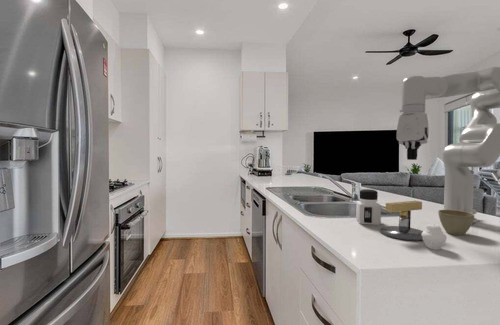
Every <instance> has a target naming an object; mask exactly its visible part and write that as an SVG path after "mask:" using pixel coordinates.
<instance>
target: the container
mask: <svg viewBox="0 0 500 325" xmlns="http://www.w3.org/2000/svg"><path fill="white" fill-rule="evenodd" d="M355 203H356V210H355V211H356V212H355V213H356V214H355V219H356V221H357V222H358V223H359V224H360V225H373V226H374V225H375V226H381V224H382V221H381V220H382V216H381V215H382V205H381V204H380V203H378V191H377V190H376V189H370V188H364V189H360V190H359V200H357V201H355Z"/></svg>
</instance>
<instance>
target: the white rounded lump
mask: <svg viewBox="0 0 500 325" xmlns="http://www.w3.org/2000/svg"><path fill="white" fill-rule="evenodd" d="M422 231H423V232H422V237H423V238H422V239H423V243H424V244H425V246H426V248H427V249H429V250H432V251H433V250H434V251H440V250H441V248H442V247H443V246H444V245H445V243H446V241H447V235H446V234H445V233H444V232H443V231H442V228H441V227H440V226H439V225H437V224H428V225H427V226H426V229H424V230H422Z"/></svg>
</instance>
